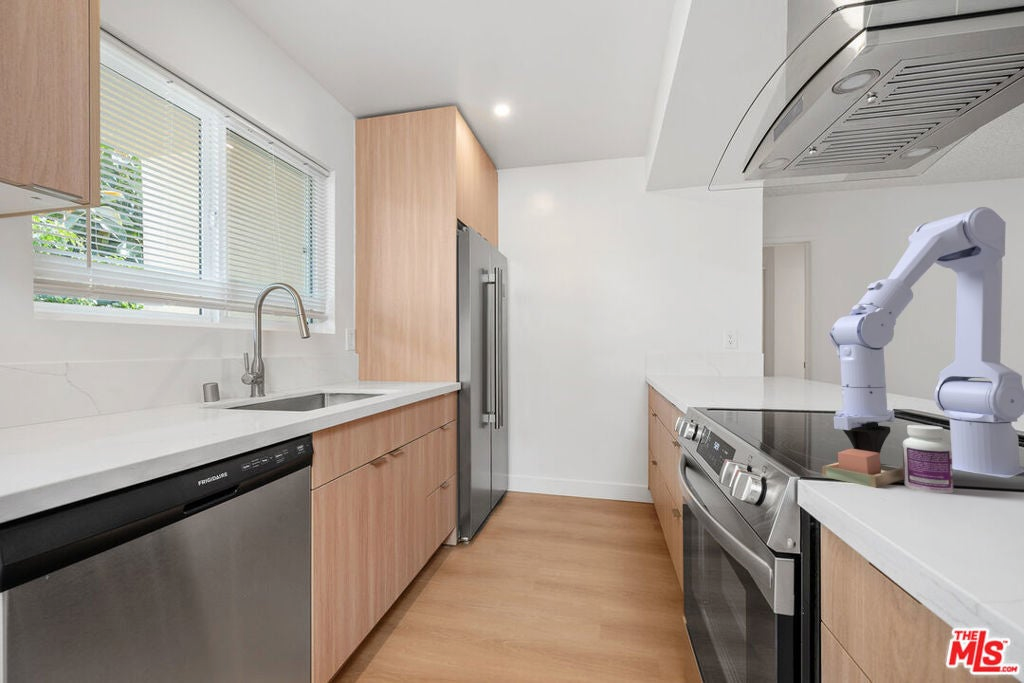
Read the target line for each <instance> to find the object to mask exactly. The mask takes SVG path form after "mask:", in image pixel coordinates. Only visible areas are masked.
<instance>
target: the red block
mask: <svg viewBox="0 0 1024 683" xmlns="http://www.w3.org/2000/svg"><path fill="white" fill-rule="evenodd" d="M837 459H838V460H837V461H838V462H839V469H843V470H848V471H853V472H858V473H863V474H868V475H875V474H879V473H881V465H882V464H881V452H880V453H877V452H870V451H864V450H858V449H854V448H849V449H845V450H841V451H839V452H837ZM838 462H837V463H838ZM880 464H881V465H880Z"/></svg>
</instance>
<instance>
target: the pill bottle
mask: <svg viewBox="0 0 1024 683" xmlns="http://www.w3.org/2000/svg"><path fill="white" fill-rule="evenodd" d="M906 433H907V435H908V436H909V437H907V438H905V439H904V440H903V441H902V444H901V445H902V446H901V448H902V464H903V466H902V467H904V479H903V480H904V486H905V487H907V488H909V489H913V490H916V491H921V492H926V493H935V494H951V493H953V492H954V478H953V477H954V474H953V472H954V471H953V469H952V449H951V444H949V443H948V442H947V441H945V440H942V439H943V438H944V437H945V432H944V428H943V427H942V426H938V425H937V426H936V425H929V424H928V425H927V424H908V425H907V427H906Z"/></svg>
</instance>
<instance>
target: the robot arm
mask: <svg viewBox="0 0 1024 683" xmlns="http://www.w3.org/2000/svg"><path fill="white" fill-rule="evenodd" d="M1006 226H1007V225H1006V221H1005V220H1004V219H1003V218H1002V217H1001V216H1000V215H999V214H998V213H997V212H996V211H995V210H993V209H992V208H990V207H988V206H978V207H976V208H973V209H971V210H968V211H965V212H961V213H958V214H954V215H952V216H948V217H944V218H941V219H938V220H934V221H930V222H928V221H927V222H924V223H921V224H919V225H918V226H917V227H916V228H915V229H914V231H913V233H912V234H910V235H909V236H908V247H907V249H906V250H905V252H904V253H903V255H902V256H901V257H900V259H899V260H898V262H897V264H896V265H895V267H894V268H893V270H892V271H891V273H890V274H889V275H888V277H887V278H883V279H879V280H877V281H875V282H871V283H869V284H868V285H867V287H866V290H867V292H866V293H865V294H864V295H863V297H861V299H860V300H859V301H858V302H857V303H856V304H855V305H853V307H852V308H851V311H850V312H849V314H848V315H845V316H842V317H840V318H838V319H837V320H836V321H835V323H834V324H833V325H832V327H831V331H830V332H829V333H828V334H829V339H830V341H831V343H832V344H833V346H834V347H835V350H836V356H838V359H839V361H840V362H839V363H840V364H839V365H840V377H841V380H840V381H841V382H840V383H841V397H842V398H841V399H842V410H836V411H835V416H833V426H834V427H833V429H835V430H842V431H843V432H844V434H845V436H847V438H848V439H849V441H850V443H851V445H852V447H853V449H858V450H864V451H870V452H877V453H880V454H881V451H882V448H883V445H884V443H885V441H886V439H887V438H888V436H889V435H890V433H891V427H890V426H886V425H879V424H881V423H885V422H886V423H887V422H888V423H893V422H894V423H895V410H892V409H888V400H887V398H888V397H887V383H886V366H885V364H886V363H885V350H884V347H886V346H887V345H888V344H889V343H890V342H892V341H893V338H894V335H895V334H894V333H895V329H894V328H895V325H896V324H897V323H896V322H897V319H898V318H899V316H900V315H901V314H902V313H903V312H904V310H905V309H906V307H907V306H908V305H909V304H910V302H911V301H912V300H913V298H914V292H913V290H912V287H913V286H914V285H915V284H917V282H918V281H919V280H920V279H921V278H922V277H923V276H924V275H925V273H926V272H927V271H928V270H929V269H930V268H931V267H932V266H933V265H934V264H937V265H939V266H940V267H943V268H945V269H951V270H952V271H953V272H954V273H956V302H955V303H956V307H955V335H954V336H955V342H954V344H955V345H954V346H955V347H954V348H955V349H954V361H953V362H952V363H951V364H949V365H948V366H946V367H945V368H944V369H942V370H941V371H940V372H939V377H938V382H937V385H936V387H935V390H934V395H933V396H934V402H935V405H936V406H937V408H938V409H939V410H940V411H942V412H943V413H944V417H945V418H949V429H950V430H949V432H950V443H951V444H950V447H951V453H952V470H956V471H962V472H969V473H973V474H974V473H975V474H980V475H986V476H994V477H1000V478H1005V479H1006V478H1007V479H1008V478H1009V479H1010V478H1011V477H1015V476H1016V475H1017V476H1018V475H1019V474H1023V473H1024V468H1023V467H1022V468H1021V462H1020V448H1019V445H1020V444H1019V443H1020V442H1019V436H1018V432H1017V431H1016V430H1017V429H1016V428H1014V426H1013V424H1012V423H1013V422H1015V423H1016V422H1018V419H1019V418H1021V416H1022V415H1024V386H1023V375H1021V374H1020V373H1018V372H1017V371H1015V370H1013V369H1011V368H1010V367H1008V366H1006V365H1005V364H1003V363H1001V349H1002V348H1001V347H1002V345H1001V344H1002V339H1001V338H1002V305H1003V304H1002V302H1003V298H1002V297H1003V257H1005V255H1006ZM970 379H988V380H970Z"/></svg>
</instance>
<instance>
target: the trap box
mask: <svg viewBox="0 0 1024 683" xmlns="http://www.w3.org/2000/svg"><path fill="white" fill-rule="evenodd" d="M880 465H881V473H879V474H875V475H868V474H863V473H858V472H853V471H848V470H843V469H839V462H834V463H830V464H826V465H822V466H821V473H822V474H821V475H822V477H823V478H829V479H834V480H838V481H843V482H848V483H851V484H857V485H860V486H865V487H870V488H876V489H877V488H880V487H883V486H884V487H885V486H887V485H890V484H893V483H897V482H899V481H902V480H904V467H903V466H901V467H897V466H891V465H886V464H885V465H884V464H881V463H880Z"/></svg>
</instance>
